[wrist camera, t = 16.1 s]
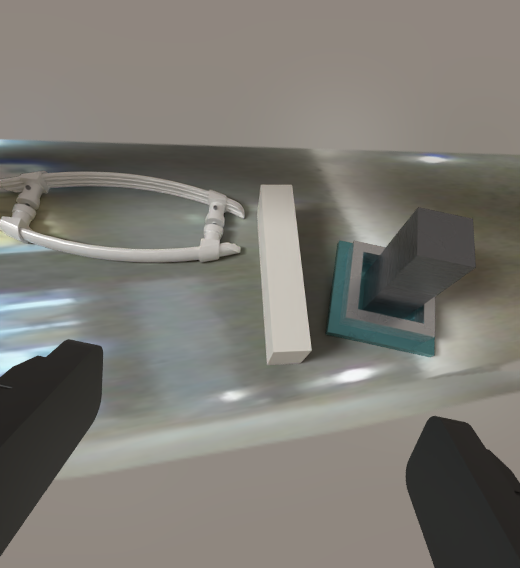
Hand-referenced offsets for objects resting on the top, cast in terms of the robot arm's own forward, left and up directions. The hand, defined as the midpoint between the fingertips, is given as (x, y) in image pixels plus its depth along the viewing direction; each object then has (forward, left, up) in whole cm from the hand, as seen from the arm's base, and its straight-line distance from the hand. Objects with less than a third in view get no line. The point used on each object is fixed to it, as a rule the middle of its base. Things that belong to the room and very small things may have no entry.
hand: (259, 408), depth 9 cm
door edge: (-6, +13, -23) cm, 27 cm away
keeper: (+2, +19, -23) cm, 30 cm away
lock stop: (+2, +18, -22) cm, 29 cm away
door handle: (-23, +7, -24) cm, 34 cm away
